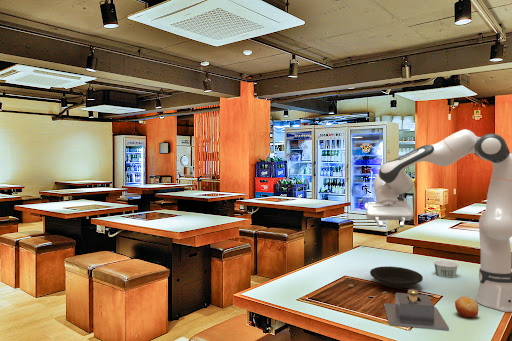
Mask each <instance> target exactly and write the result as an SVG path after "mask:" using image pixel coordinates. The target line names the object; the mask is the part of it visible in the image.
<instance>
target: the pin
mask: <svg viewBox="0 0 512 341" xmlns="http://www.w3.org/2000/svg"><path fill="white" fill-rule="evenodd" d="M407 294H409V301H417V295H418V294H419V290H418V289H407Z"/></svg>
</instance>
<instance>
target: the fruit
mask: <svg viewBox="0 0 512 341" xmlns="http://www.w3.org/2000/svg"><path fill="white" fill-rule="evenodd" d="M454 306H455V309H456V313H458V315H460V316H461V317H462V318H474V317H475V318H476V316H478V315H479V303H478V302H477V301H476V300H474V299H472V298H470V297H468V296H461V297H459V298H457V299H456V300H454Z"/></svg>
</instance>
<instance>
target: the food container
mask: <svg viewBox="0 0 512 341" xmlns="http://www.w3.org/2000/svg"><path fill="white" fill-rule="evenodd" d="M432 263H433V264H434V269H435V270H434V271H435V275H436V276H437V277H440V278H445V279H454V278H456V276H457V270H458V267H459V263H457V262H454V261H449V260H434V261H433V262H432Z"/></svg>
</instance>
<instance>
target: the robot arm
mask: <svg viewBox="0 0 512 341" xmlns="http://www.w3.org/2000/svg"><path fill="white" fill-rule="evenodd" d="M469 154H473V155H475V156H476V157H478V158H480V159H481V160H483V161H487V162H488V161H489V162H491V164H492V173H491V177H490V181H489V182H490V183H489V185H488V191H487V195H486V205H485V212H483V213H482V214H481V215H480V216H479V219H478V229H479V230H478V232H479V234H478V235H479V246H480V268H479V270H478V280H479V286H478V292H477V295H476V298H475V302H476V303H477V304H480V305H482V306H485V307H487V308H491V309H495V310H498V311H501V312H506V313H507V312H509V313H510V312H511V313H512V248H511V242H510V238H512V152H510V149H509V147H508V144H507V142H506V140H505V139H504V138H503V136H502V135H499V134H496V133H487V134H483V135H482V136H477V135H476V134H475V133H474V132H473V131H472V130H469V129H466V128H465V129H461V130H459V131H456V132H454V133H452V134H450V135H449V136H447V137H445V138H444V139H442V140H440V141H438V142H437V143H433V144H426V145H421V146H419V147H417V148H415V149H413V150H411V151H409V152H407V153H405V154H403V155H401V156H399V157H397V158H395V159H392V160H388V161H386V162H385V163H383V164H382V165H381V166H380V168H379V170H378V171H379V173H378V174H377V175H376V176H375V178H374V180H373V190H374V194H375V201H373V202H371V201H367V202H365V203H364V204H363V205H364V209H365V218H366V219H367V220H368V221H369V220H370V221H371V220H372V221H374V222H375V223H376V224H377V226H378V228H382V227H383V222H382V221H400V223H399V227H400V228H405V221H411V220H412V219H413V217H414V216H413V215H414V213H413V211H412V208H411V206H410V204H409V203H407V202H408V200H407V198H405V197H402V196H401V195H404V194H407V193H408V192H410V191H411V190H412V188H413V186H414V181H413V180H414V179H413V178H412V177H411V176H410V175H409V174H407V172H406V171H405V169H408V168H409V167H412V166H414V165H416V164H417V163H420V162H428V163H431V164H433V165H437V166H441V167H448V166H450V165H452V164H455V163H456V162H457V161H459V160H460V159H462V158H463V157H465V156H467V155H469Z"/></svg>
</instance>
